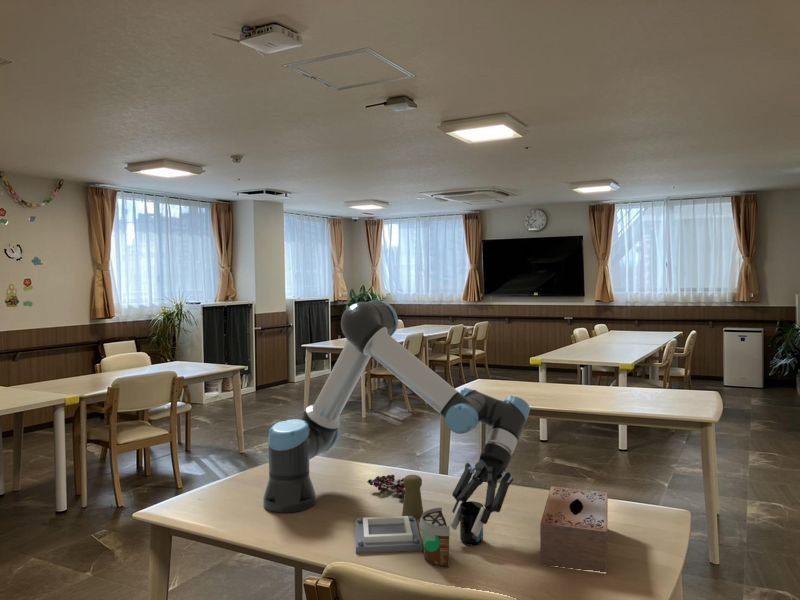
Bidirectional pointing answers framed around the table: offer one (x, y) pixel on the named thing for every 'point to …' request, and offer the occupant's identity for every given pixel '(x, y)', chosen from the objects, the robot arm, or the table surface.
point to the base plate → (387, 534)
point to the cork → (412, 497)
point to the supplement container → (469, 522)
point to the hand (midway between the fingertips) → (463, 530)
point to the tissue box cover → (574, 529)
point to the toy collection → (389, 479)
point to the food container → (435, 538)
